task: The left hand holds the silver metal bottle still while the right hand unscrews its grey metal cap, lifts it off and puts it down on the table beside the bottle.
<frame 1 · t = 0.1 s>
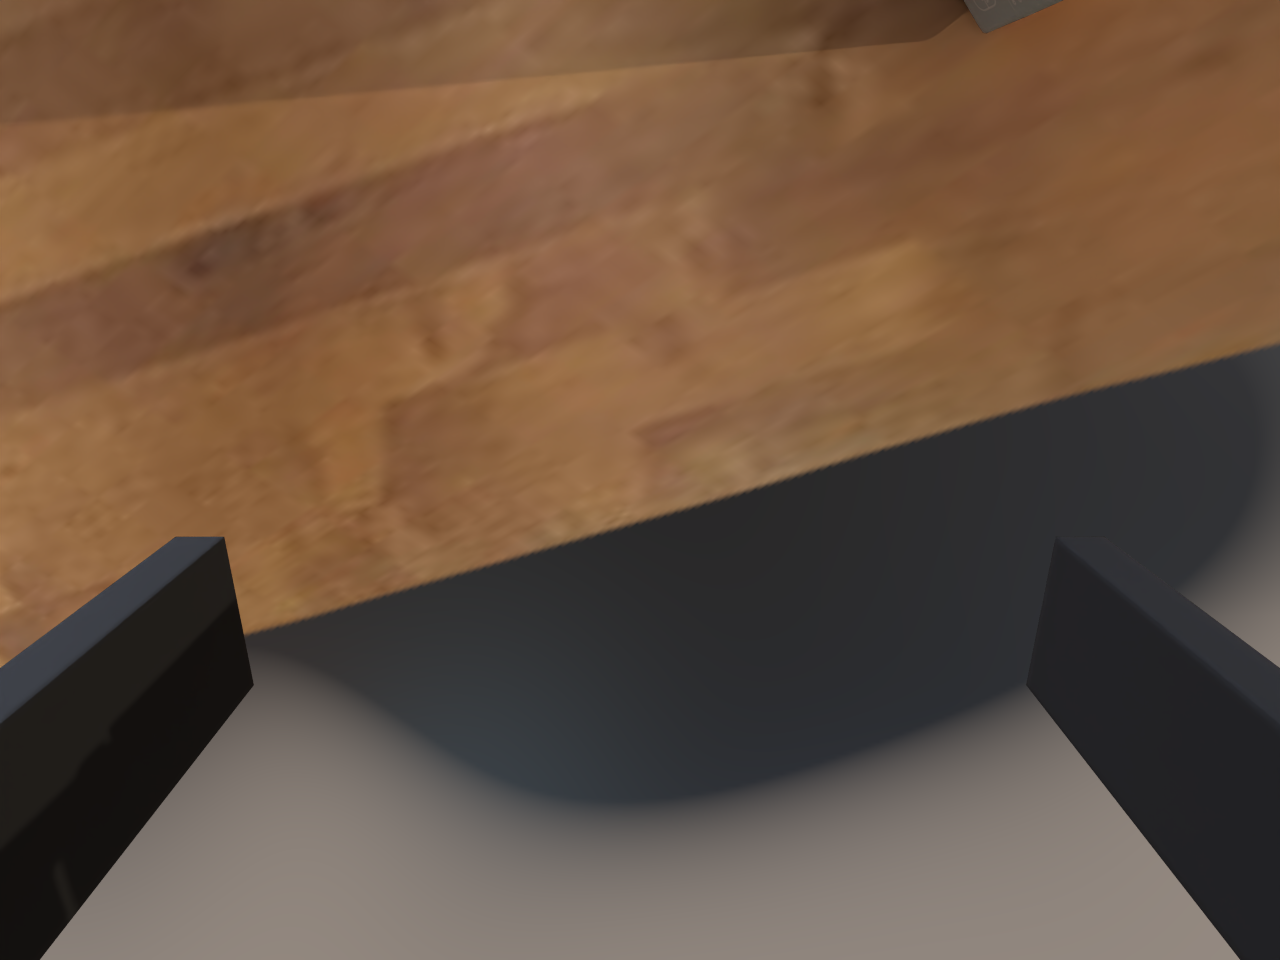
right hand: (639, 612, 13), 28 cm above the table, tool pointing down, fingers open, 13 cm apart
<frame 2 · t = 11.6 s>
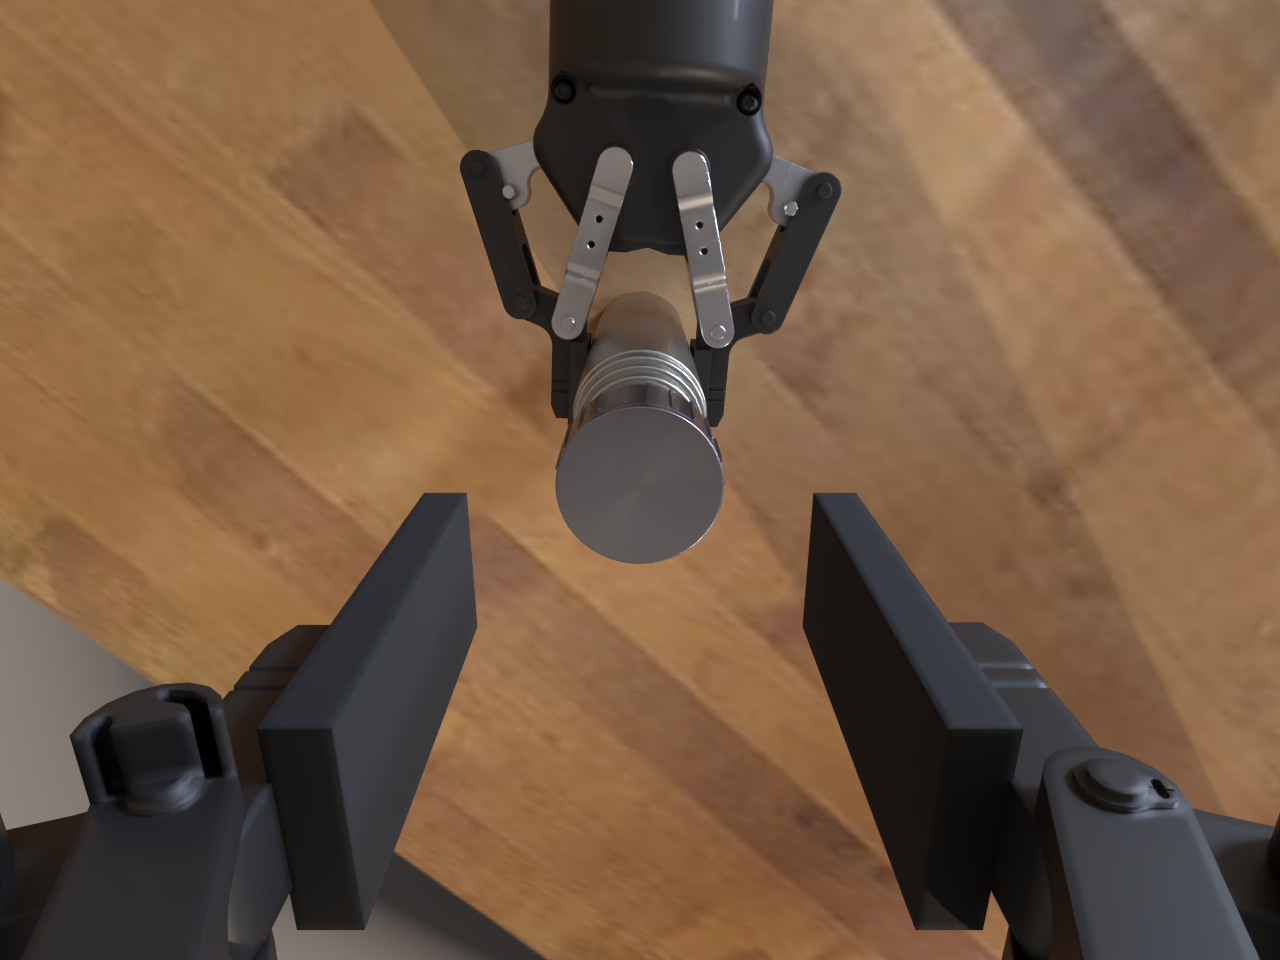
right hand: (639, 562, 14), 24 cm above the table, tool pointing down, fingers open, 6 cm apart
left hand: (636, 429, 32), fingers closed on bottle, 4 cm apart
bottle: (639, 335, 37), on the table, touching left hand
cap: (639, 483, 18), point 20 cm above the table, screwed on, not yet turned
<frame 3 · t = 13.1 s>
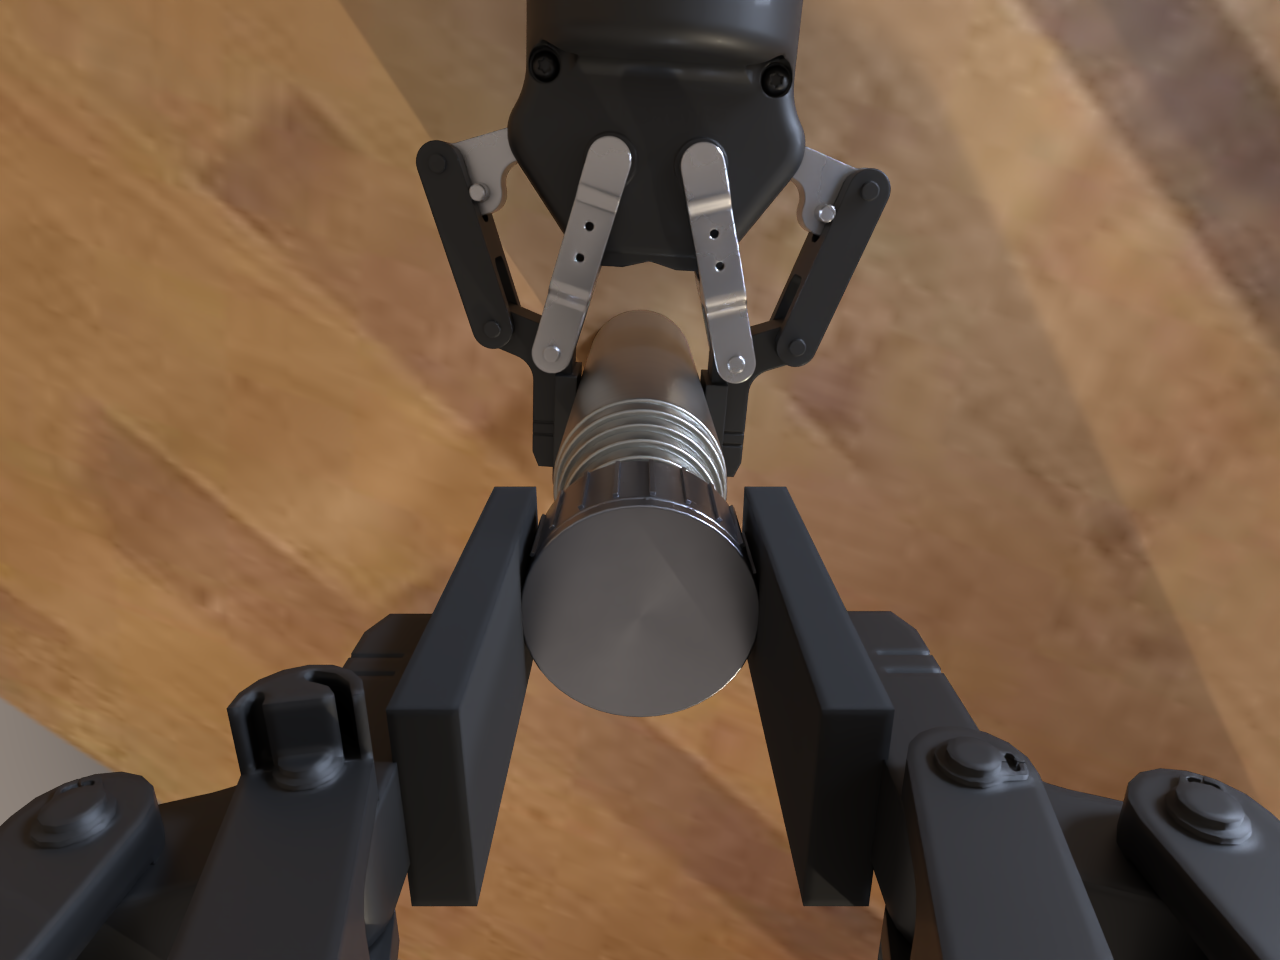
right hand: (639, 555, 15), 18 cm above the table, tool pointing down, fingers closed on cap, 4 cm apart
left hand: (636, 478, 27), fingers closed on bottle, 4 cm apart
bottle: (640, 361, 31), on the table, touching left hand
cap: (640, 607, 13), point 20 cm above the table, screwed on, not yet turned, touching right hand
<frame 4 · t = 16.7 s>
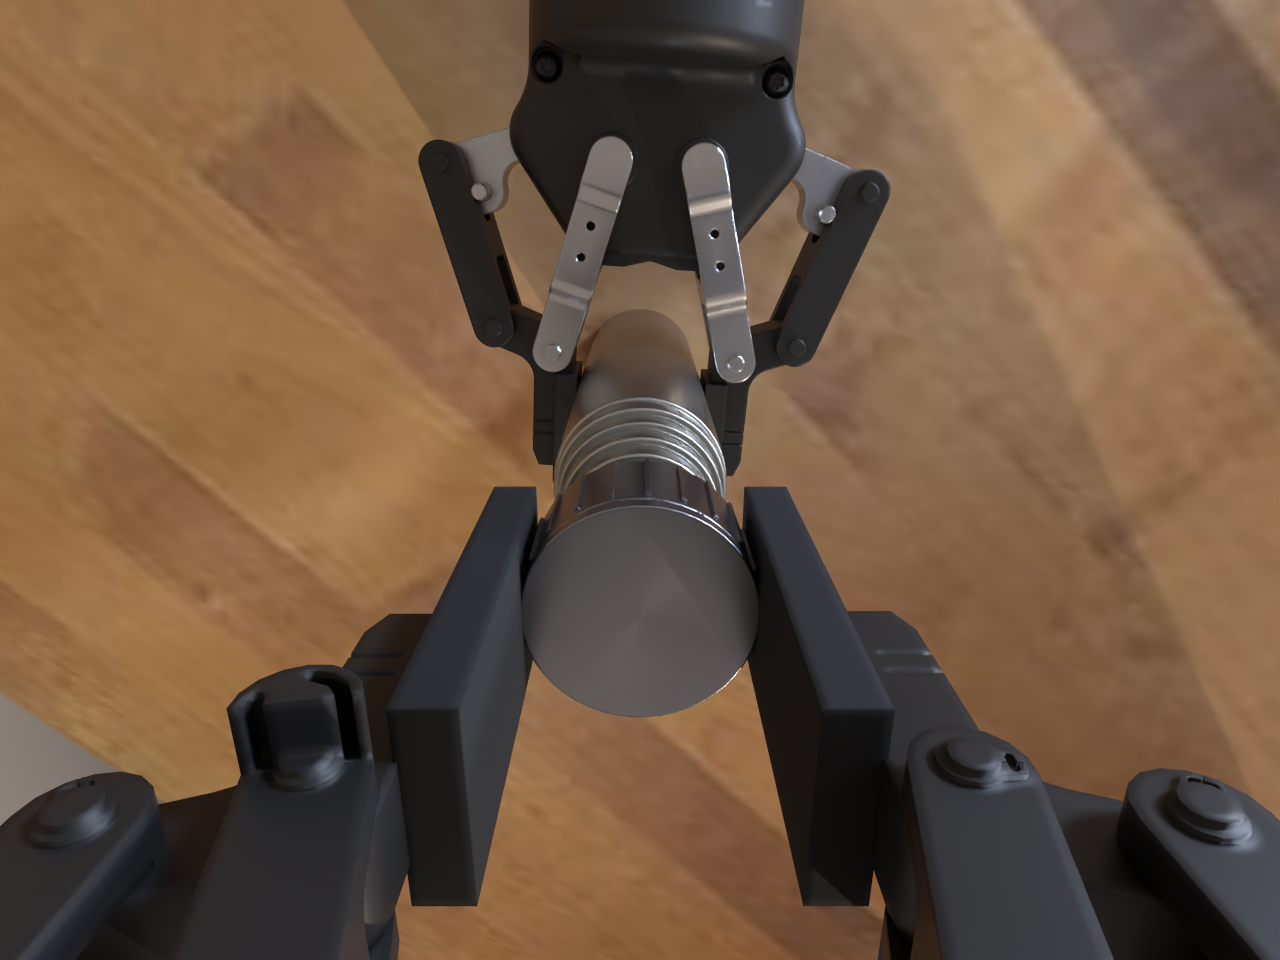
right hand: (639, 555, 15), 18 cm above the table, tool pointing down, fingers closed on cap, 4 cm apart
left hand: (636, 477, 27), fingers closed on bottle, 4 cm apart
bottle: (640, 360, 31), on the table, touching left hand
cap: (640, 608, 13), point 20 cm above the table, turned 122° so far, risen 0.1 cm, still on its thread, touching right hand
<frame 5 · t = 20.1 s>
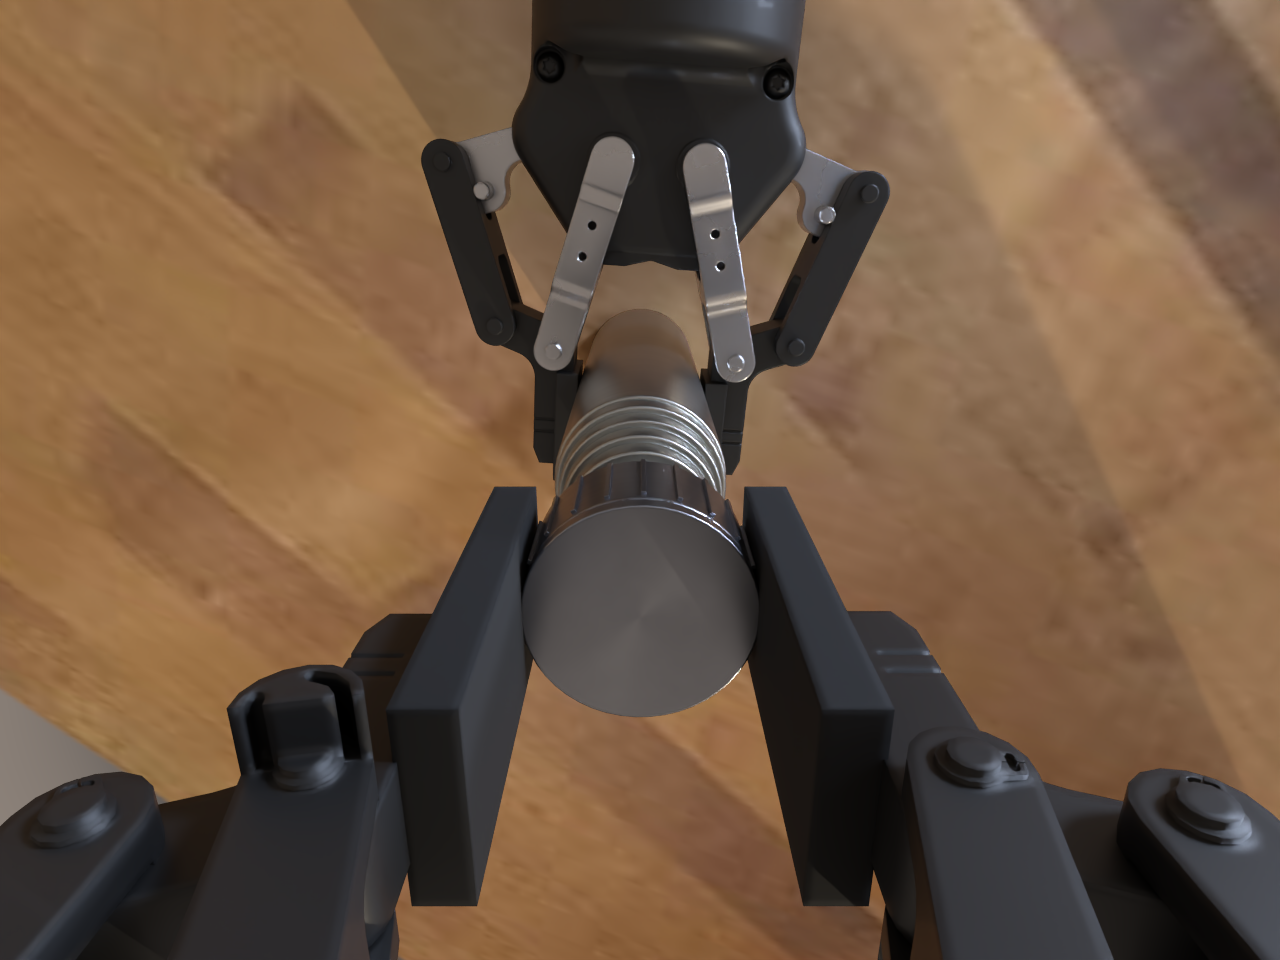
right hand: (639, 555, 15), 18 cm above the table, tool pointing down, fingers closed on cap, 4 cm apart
left hand: (635, 475, 27), fingers closed on bottle, 4 cm apart
bottle: (640, 360, 31), on the table, touching left hand
cap: (640, 608, 13), point 20 cm above the table, turned 245° so far, risen 0.3 cm, still on its thread, touching right hand
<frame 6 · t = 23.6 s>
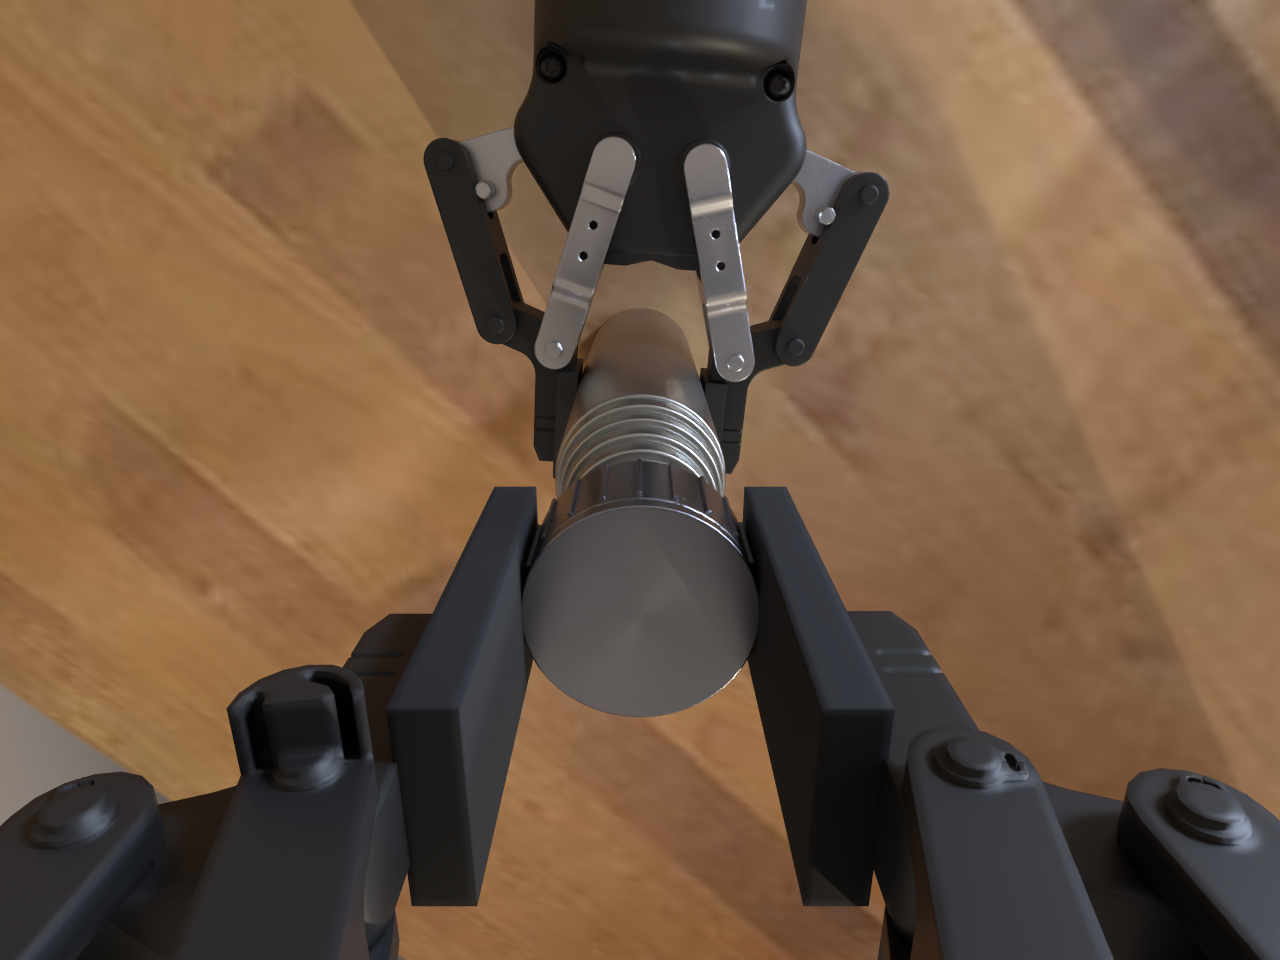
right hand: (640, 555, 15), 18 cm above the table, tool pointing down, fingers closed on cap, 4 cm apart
left hand: (635, 474, 27), fingers closed on bottle, 4 cm apart
bottle: (640, 359, 32), on the table, touching left hand
cap: (640, 608, 13), point 20 cm above the table, turned 367° so far, risen 0.4 cm, still on its thread, touching right hand
when the right hand's fingers open (2 cm above the table, at t = 30.3 s): cap drops 2 cm, point 2 cm above the table.
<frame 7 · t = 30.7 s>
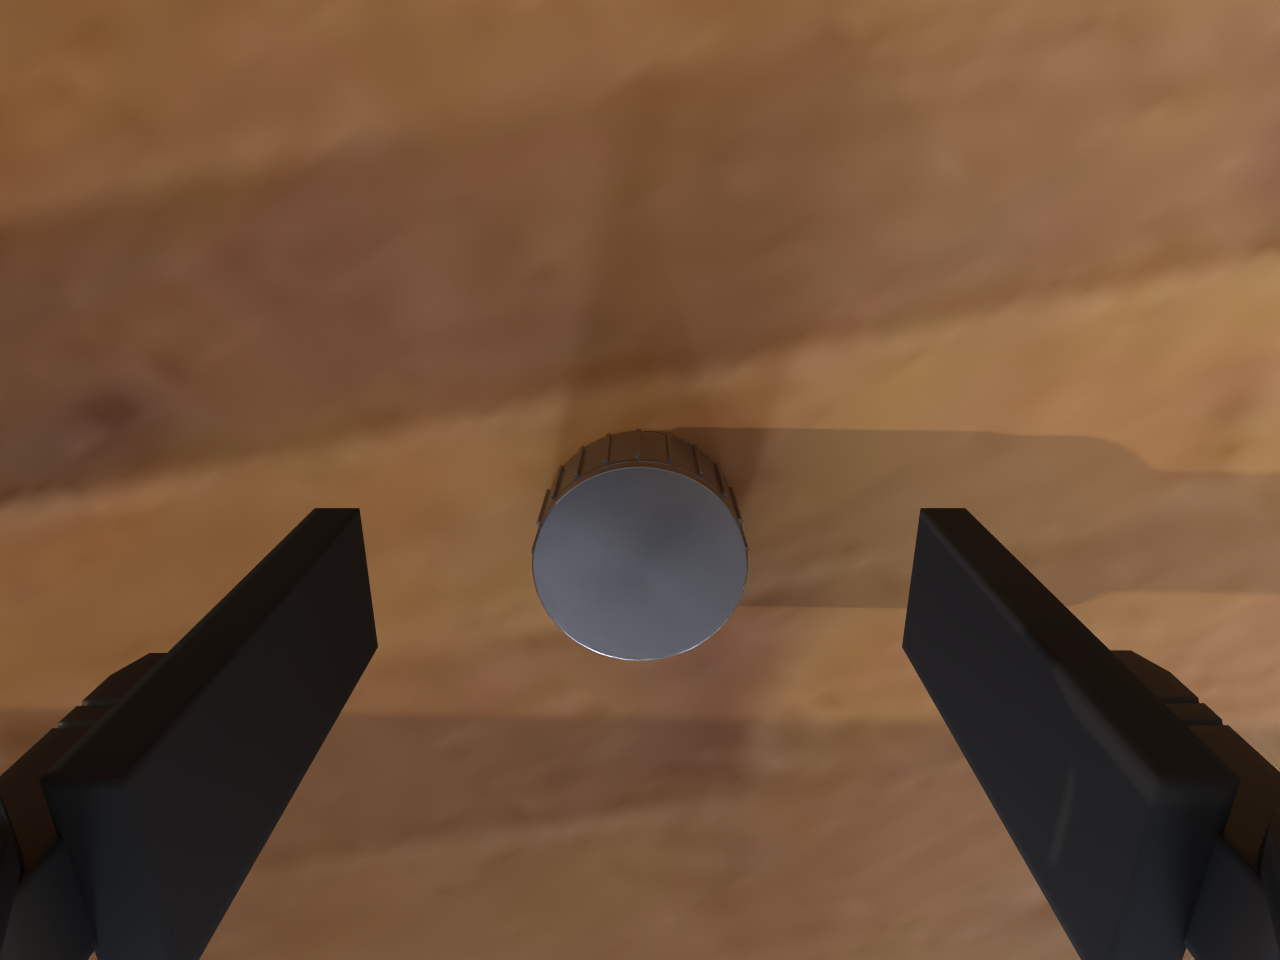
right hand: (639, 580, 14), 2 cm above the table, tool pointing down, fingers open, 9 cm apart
cap: (639, 561, 14), point 2 cm above the table, off its thread
when the left hand's fingers open (6 cm above the table, at t = 31.6 s): bottle stays where it is, on the table.
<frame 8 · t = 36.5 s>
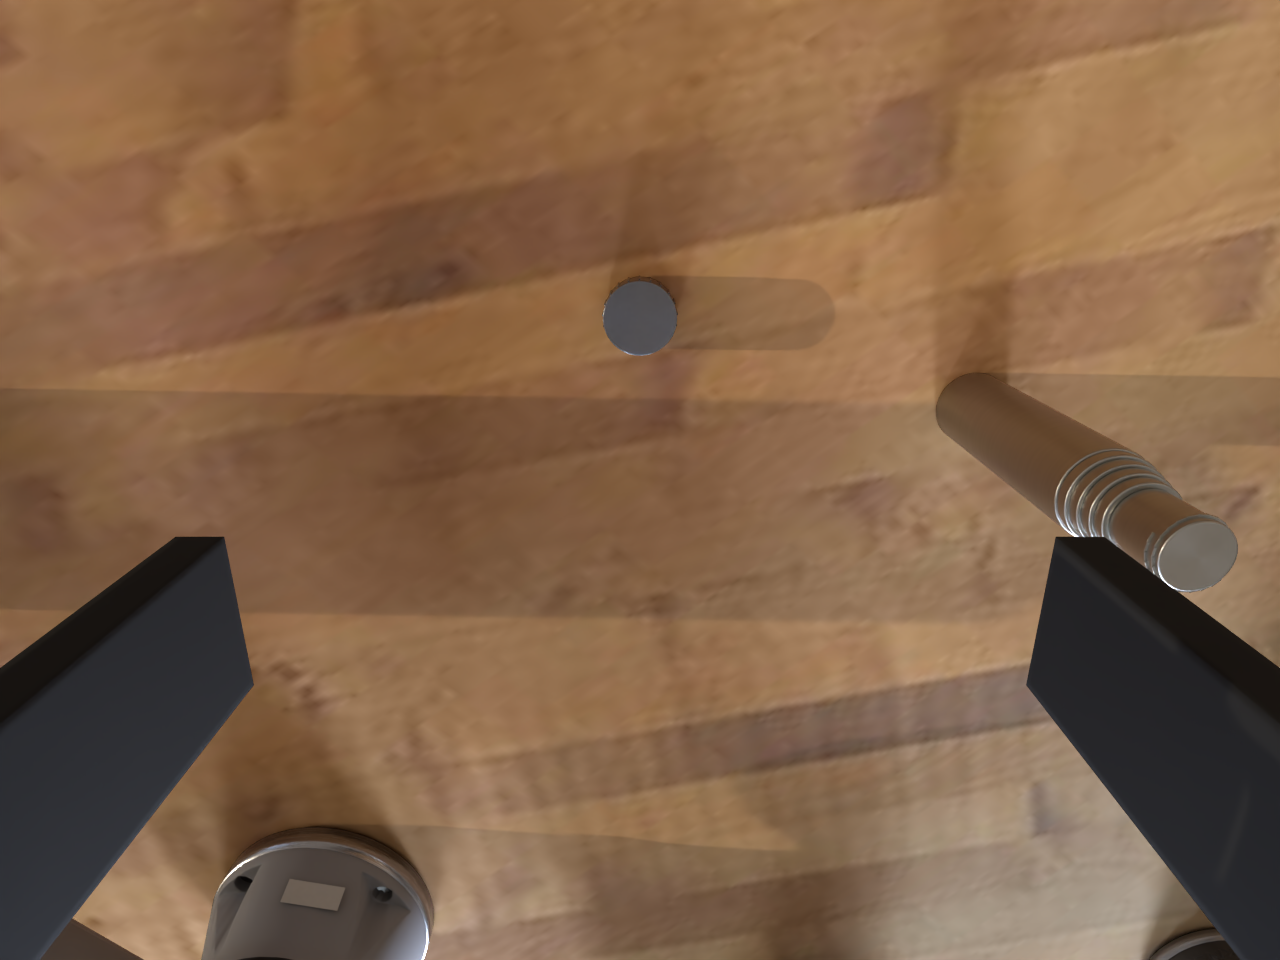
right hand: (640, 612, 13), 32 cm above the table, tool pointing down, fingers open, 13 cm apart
bottle: (971, 407, 45), on the table
cap: (639, 318, 41), point 2 cm above the table, off its thread
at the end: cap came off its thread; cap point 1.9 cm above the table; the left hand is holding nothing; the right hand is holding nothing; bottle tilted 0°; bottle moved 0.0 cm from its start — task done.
